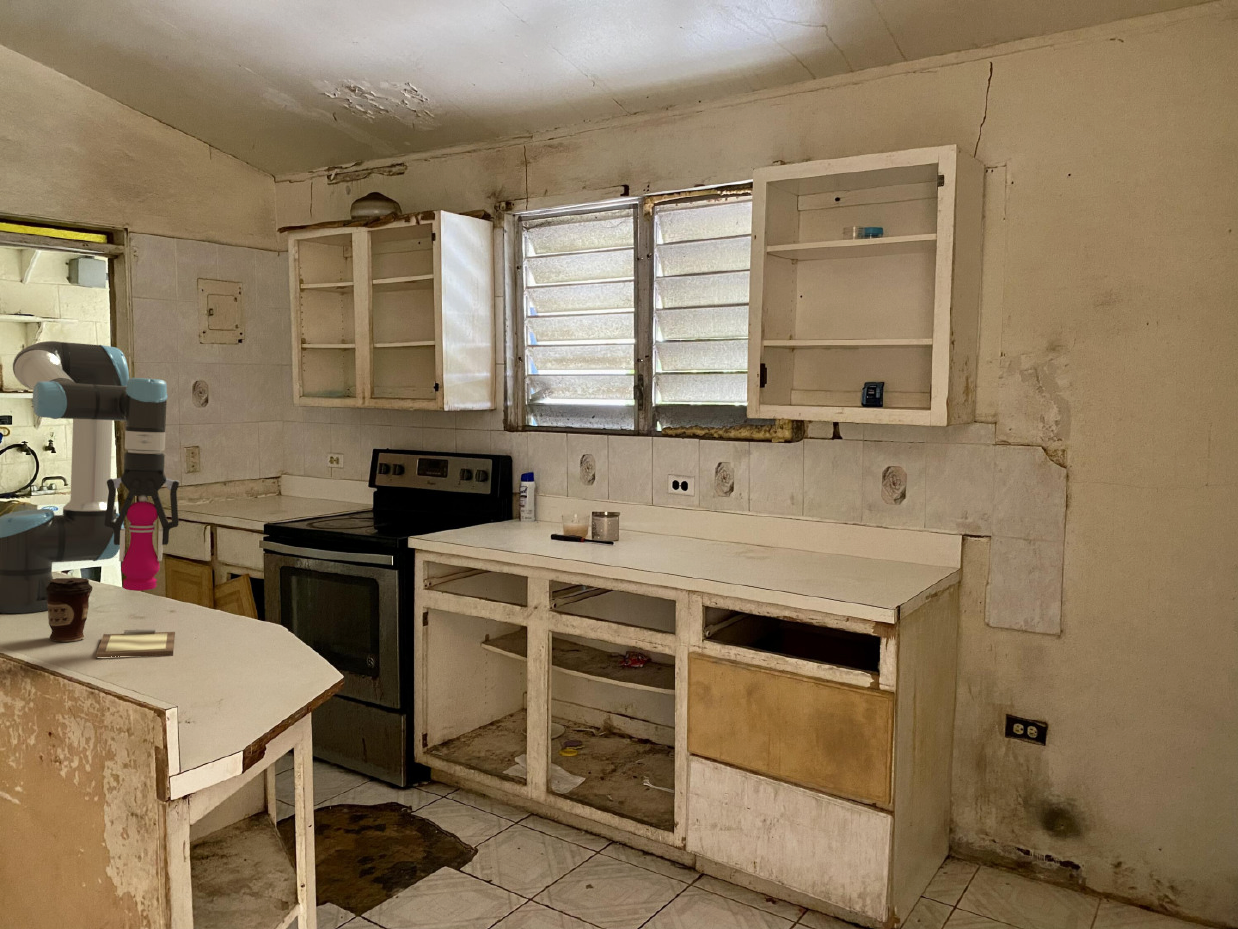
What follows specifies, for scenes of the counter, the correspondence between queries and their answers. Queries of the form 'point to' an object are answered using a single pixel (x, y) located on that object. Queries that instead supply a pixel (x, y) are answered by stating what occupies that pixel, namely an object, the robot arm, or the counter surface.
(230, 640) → the counter surface
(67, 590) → the coffee cup
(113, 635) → the clipboard
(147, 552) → the pepper mill
